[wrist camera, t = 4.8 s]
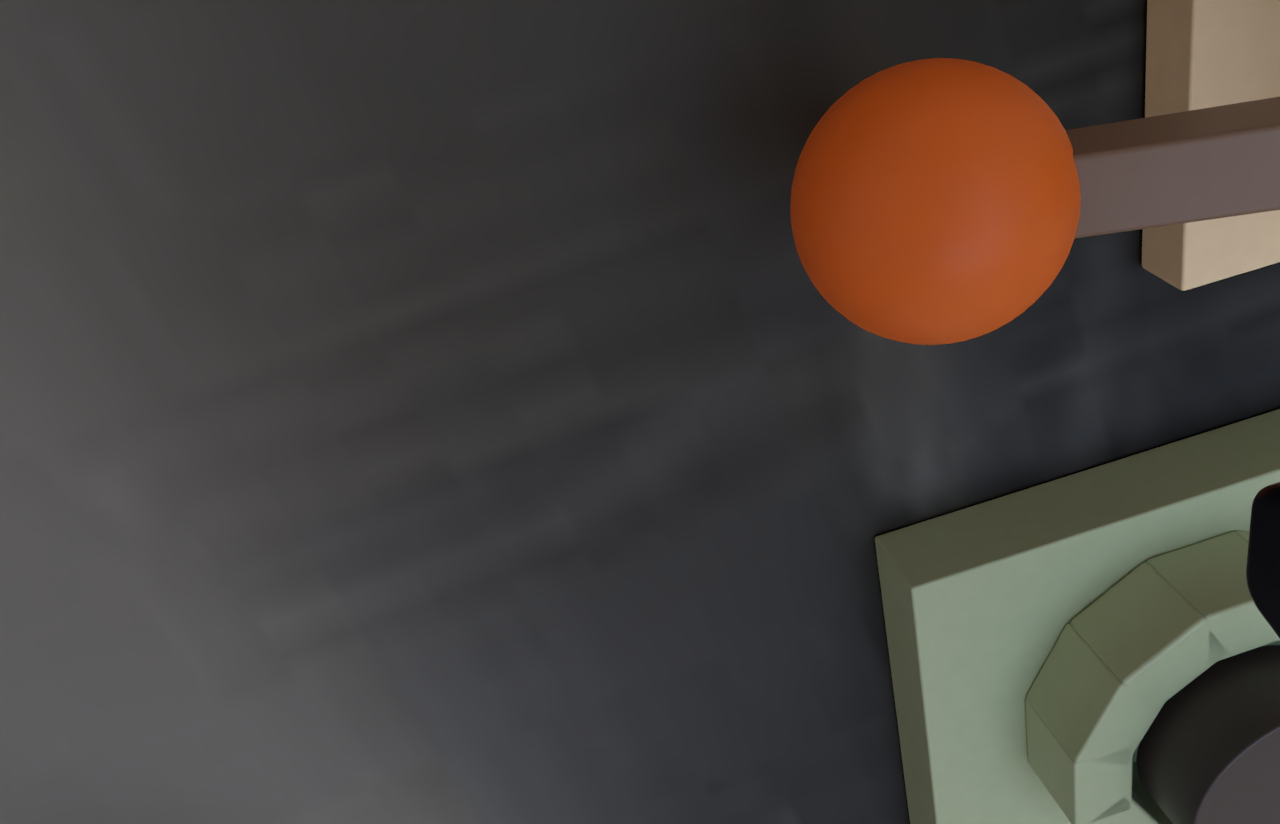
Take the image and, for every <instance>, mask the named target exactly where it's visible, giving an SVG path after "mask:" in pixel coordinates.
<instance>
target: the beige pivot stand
mask: <svg viewBox="0 0 1280 824" xmlns="http://www.w3.org/2000/svg"><path fill="white" fill-rule="evenodd" d="M1274 97H1280V0H1147V34H1146V81H1145V118H1147V117H1153V116H1159V115H1166V114H1172V113H1178V112H1185V111H1191V110H1198V109H1204V108H1210V107H1217V106H1223V105H1229V104H1236V103H1242V102H1248V101H1255V100H1261V99H1268V98H1274ZM1278 262H1280V210H1275V211H1268V212H1261V213H1254V214H1246V215H1239V216H1232V217H1225V218H1218V219H1211V220H1203V221H1196V222H1189V223H1182V224H1175V225H1168V226H1160V227H1153V228H1146V229H1142V267H1143V268H1144V269H1146V270H1147V271H1149V272H1151V273H1152V274H1154V275H1156V276H1157V277H1159V278H1161V279H1162V280H1164V281H1166V282H1168V283H1169V284H1171V285H1173V286H1174V287H1176V288H1178V289H1179V290H1182V291H1186V290H1189V289H1192V288H1196V287H1199V286H1202V285H1206V284H1209V283H1212V282H1215V281H1219V280H1222V279H1225V278H1229V277H1232V276H1235V275H1239V274H1242V273H1245V272H1248V271H1252V270H1255V269H1258V268H1262V267H1265V266H1268V265H1272V264H1275V263H1278Z"/></svg>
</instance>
